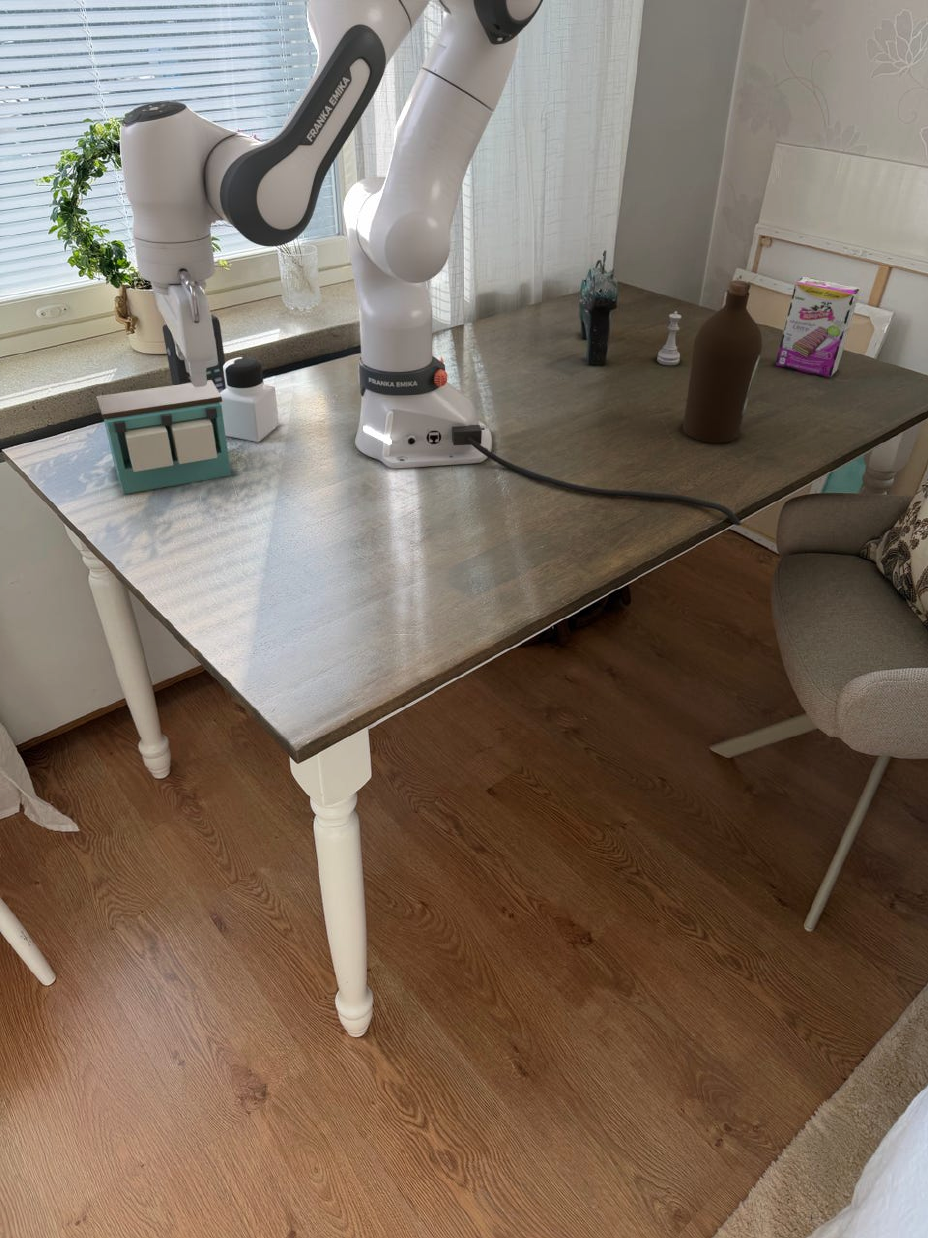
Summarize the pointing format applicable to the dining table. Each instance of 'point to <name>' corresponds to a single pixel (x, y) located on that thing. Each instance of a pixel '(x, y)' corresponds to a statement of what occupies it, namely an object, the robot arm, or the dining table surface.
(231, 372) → the medicine bottle
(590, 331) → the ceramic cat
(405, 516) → the dining table surface
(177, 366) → the card reader
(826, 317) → the candy bar box
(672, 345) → the chess piece
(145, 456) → the piano key left
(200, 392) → the toy piano
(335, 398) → the dining table surface
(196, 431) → the piano key right
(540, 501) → the dining table surface
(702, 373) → the olive oil
